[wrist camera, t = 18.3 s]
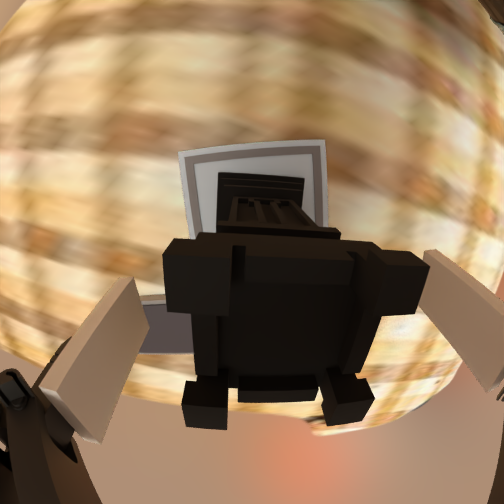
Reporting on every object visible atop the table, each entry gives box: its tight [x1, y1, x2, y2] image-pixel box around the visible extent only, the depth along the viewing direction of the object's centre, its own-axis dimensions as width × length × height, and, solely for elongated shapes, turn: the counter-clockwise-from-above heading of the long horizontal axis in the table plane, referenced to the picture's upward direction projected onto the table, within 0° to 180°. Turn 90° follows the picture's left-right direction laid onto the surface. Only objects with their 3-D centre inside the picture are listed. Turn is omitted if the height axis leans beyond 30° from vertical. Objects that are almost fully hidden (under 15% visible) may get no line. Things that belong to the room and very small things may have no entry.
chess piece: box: [162, 172, 430, 430], centre depth 17 cm, size 8×8×20 cm
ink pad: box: [138, 295, 194, 354], centre depth 30 cm, size 8×10×2 cm
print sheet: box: [178, 140, 328, 239], centre depth 26 cm, size 14×14×1 cm
